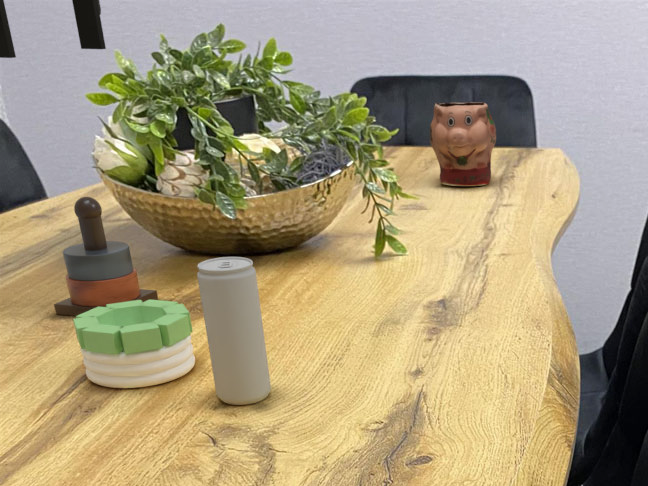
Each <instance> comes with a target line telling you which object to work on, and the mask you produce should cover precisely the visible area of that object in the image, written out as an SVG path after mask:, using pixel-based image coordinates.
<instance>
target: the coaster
mask: <svg viewBox="0 0 648 486" xmlns="http://www.w3.org/2000/svg"><path fill="white" fill-rule="evenodd" d="M79 351H80V353H81V354H82V357H83V358H82V363H83V365H84V367H85V375H86V377H87V378H88V380H89V381H90V382H92V383H94V384H95V385H98V386H101V387H105V388H112V389H113V388H114V389H135V388H145V387H152V386H157V385H162V384H164V383H168V382H171V381H174V380H177V379H179V378H181V377H183V376H185V375H187V374H188V373H189V372H191V370H192V369H193V368H194V367H195V363H196V357H195V355H194V346H193V344H192V334H191V335H190V336H188V337H186V338H184V339H182V340H180V341H179V342H177V343H175V344H173V345H171V346H168V345H163V348H161V349H154V350H148V351H142V352H135V353H129V354H125V352H124V351H122V352H120V353H118V354H109V353H100V352H91V351H86V349H81V348H80V350H79Z"/></svg>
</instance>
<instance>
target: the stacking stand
mask: <svg viewBox="0 0 648 486" xmlns="http://www.w3.org/2000/svg"><path fill="white" fill-rule="evenodd" d="M73 210H74V214H75V216H76V218H77V220H78V226H79V228H80V234H81V239H82V243H78V244H74V245H71V246H68V247H65V248H64V249H63V250H62V255H63V260H64V264H65V269H66V273H67V274H65V281H66V286H67V290H68V294H69V297H68V298H65V299H63V300H61V301H57V302H55V303H53V307H54V311H55V315H61V316H70V317H76V316H78V315H80V314H82V313H85V312H87V311H89V310H91V309H94V308H96V307H98V306H99V307H106V304H113V303H120V302H127V301H135V300H142V302H145V301H147V300H149V299H150V300H159V296H158V290H157V289H154V290H153V289H144V288H141V286H140V283H139V282H140V281H139V277H138V272H137V269H136V268H135V267H134V265H133V260H132V255H131V254H132V253H131V250H130V245H129V244H128V243H126V242H123V241H116V240H107V239H106V233H105V229H104V228H105V227H104V224H103V219H102V215H103V214H102V213H103V209H102V206H101V204H100V202H99V201H98V200H97V199H95V198H93V197H92V196H82V197H80V198H78V199H77V200H76V202H74V205H73Z"/></svg>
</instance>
